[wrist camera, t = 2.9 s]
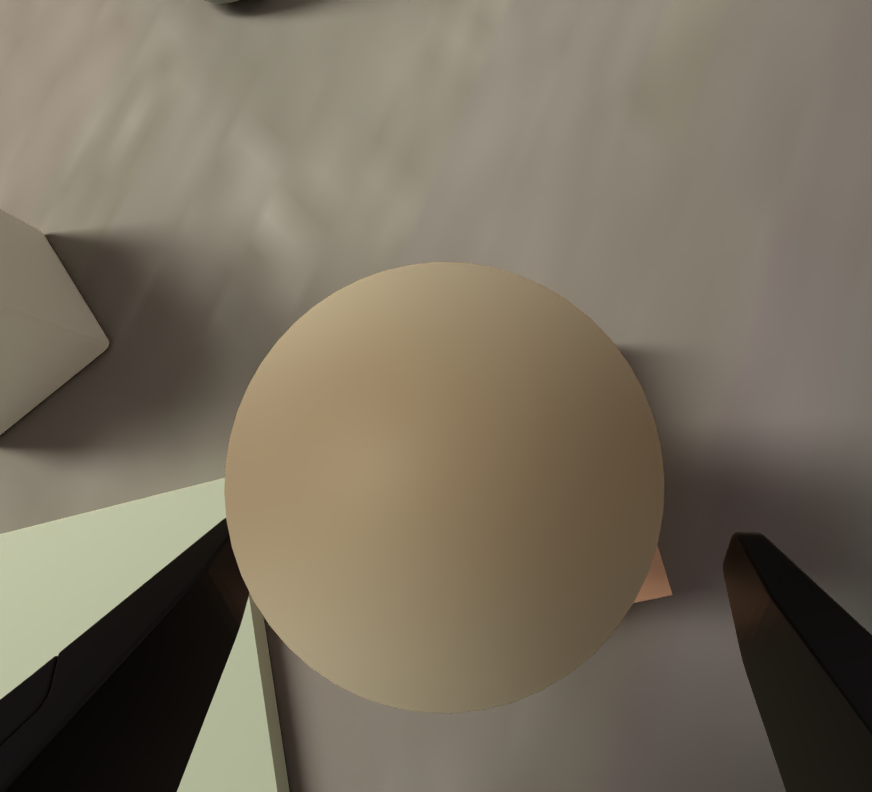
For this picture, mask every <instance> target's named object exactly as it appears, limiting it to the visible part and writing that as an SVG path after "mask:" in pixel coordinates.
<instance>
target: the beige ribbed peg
mask: <svg viewBox="0 0 872 792" xmlns="http://www.w3.org/2000/svg"><path fill="white" fill-rule="evenodd" d="M664 484H665V477H664V468H663V458H662V449H661V444H660V440H659V436H658V432H657V428H656V423H655V419H654V416H653V414H652V411H651V408H650V406H649V403H648V401H647V398H646V396H645V393H644V391H643V388H642V387H641V385H640V383H639V381H638V379H637V378H636V376H635V374H634V372H633V370H632V369H631V367H630V365H629V363H628V362H627V360H626V359H625V358H624V356H623V355H622V354H621V352H620V351H619V350H618V348H617V347H616V346H615V344H614V343H613V342H612V340H611V339H610V338H609V337H608V336H607V335H606V334H605V333H604V332H603V331H602V330H601V329H600V328H599V327H598V326H597V324H596V323H595V322H594V321H593V320H592V319H591V318H590V317H588V316H587V315H586V314H584V313H583V312H582V311H581V310H579V309H578V308H577V307H576V306H574V305H573V304H572V303H571V302H569V301H568V300H566V299H565V298H563V297H561V296H560V295H558V294H556V293H555V292H553V291H551V290H550V289H548V288H546V287H545V286H543V285H541V284H538V283H536V282H534V281H531V280H529V279H527V278H524V277H522V276H520V275H517V274H514V273H510V272H507V271H503V270H500V269H497V268H493V267H488V266H482V265H475V264H469V263H452V262H433V263H423V264H413V265H407V266H403V267H398V268H394V269H390V270H385V271H382V272H379V273H377V274H374V275H371V276H368V277H365V278H363V279H360V280H358V281H356V282H354V283H352V284H350V285H348V286H346V287H344V288H342V289H340V290H338V291H336V292H335V293H333V294H332V295H330V296H329V297H327V298H326V299H324V300H323V301H321V302H320V303H318V304H317V305H315V306H314V307H313V308H311V309H310V310H309V311H308V312H307V313H306V314H304V315H303V316H302V317H301V318H300V319H298V320H297V321H296V322H295V323H294V324H293V325H292V326H291V327H290V328H289V329H288V330H287V331H286V333H285V334H284V335H283V336H282V337H281V338H280V339H279V340H278V341H277V342H276V344H275V345H274V346H273V348H272V349H271V350H270V352H269V353H268V355H267V356H266V357H265V359H264V360H263V361H262V363H261V364H260V366H259V368H258V370H257V371H256V373H255V375H254V377H253V378H252V380H251V382H250V384H249V386H248V387H247V390H246V392H245V395H244V397H243V399H242V402H241V404H240V407H239V409H238V411H237V415H236V418H235V422H234V425H233V429H232V432H231V436H230V440H229V446H228V452H227V459H226V465H225V488H224V495H225V508H226V520H227V525H228V530H229V535H230V540H231V545H232V549H233V552H234V555H235V558H236V561H237V564H238V567H239V570H240V573H241V576H242V578H243V580H244V582H245V584H246V586H247V588H248V590H249V592H250V594H251V596H252V599H253V601H254V602H255V604H256V605H257V607H258V608H259V610H260V611H261V613H262V615H263V616H264V618H265V619H266V621H267V622H268V624H269V625H270V626H271V628H272V629H273V630H274V631H275V632H276V634H277V635H278V636H279V637H280V638H281V639H282V641H283V642H284V643H285V644H286V645H287V646H288V648H290V649H291V650H292V651H293V652H294V653H295V654H296V655H297V656H298V657H300V658H301V659H302V660H303V661H304V662H305V663H306V664H307V665H308V666H310V667H311V668H312V669H314V670H315V671H317V672H318V673H320V674H321V675H323V676H324V677H325V678H327V679H328V680H330V681H331V682H333V683H334V684H336V685H338V686H340V687H342V688H344V689H346V690H348V691H350V692H352V693H354V694H356V695H358V696H360V697H362V698H365V699H368V700H371V701H374V702H377V703H380V704H383V705H386V706H389V707H394V708H399V709H405V710H410V711H416V712H424V713H461V712H470V711H479V710H485V709H489V708H493V707H497V706H500V705H504V704H508V703H512V702H515V701H517V700H520V699H522V698H524V697H527V696H529V695H531V694H534V693H536V692H539V691H541V690H543V689H545V688H546V687H548V686H550V685H551V684H553V683H555V682H556V681H558V680H559V679H561V678H563V677H564V676H566V675H568V674H569V673H571V672H572V671H573V670H574V669H576V668H577V667H578V666H579V665H580V664H582V663H583V662H584V661H585V660H586V659H588V658H589V657H590V656H591V655H592V654H594V653H595V652H596V651H597V650H598V648H599V647H600V646H601V645H602V644H603V643H604V642H605V641H606V640H607V638H608V637H609V636H610V635H611V634H612V633H613V632H614V631H615V630H616V628H617V627H618V625H619V624H620V623H621V621H622V620H623V618H624V617H625V615H626V614H627V612H628V611H629V609H630V608H631V606H632V605H633V603H634V602H635V600H636V597H637V595H638V593H639V591H640V589H641V587H642V585H643V583H644V581H645V579H646V577H647V575H648V573H649V569H650V566H651V563H652V560H653V557H654V554H655V551H656V547H657V544H658V540H659V535H660V529H661V523H662V517H663V511H664Z"/></svg>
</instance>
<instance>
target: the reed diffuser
mask: <svg viewBox="0 0 872 792" xmlns="http://www.w3.org/2000/svg"><path fill="white" fill-rule="evenodd" d="M206 1H208V2H211V3H219V4H222V3H231V2H235V1H238V0H206Z"/></svg>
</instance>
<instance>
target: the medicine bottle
mask: <svg viewBox="0 0 872 792" xmlns="http://www.w3.org/2000/svg"><path fill="white" fill-rule="evenodd" d="M108 346H109V340H108V338H107V336H106V335H105V333H104V332H103V330H102V328H101V327H100V325H99V323H98V322H97V320H96V319H95V317H94V315H93V314H92V312H91V310H90V309H89V307H88V305H87V304H86V302H85V301H84V299H83V297H82V296H81V294H80V292H79V291H78V289H77V288H76V286H75V284H74V283H73V281H72V279H71V278H70V276H69V275H68V273H67V271H66V270H65V268H64V266H63V265H62V263H61V261H60V260H59V258H58V257H57V255H56V253H55V252H54V250H53V248H52V247H51V245H50V244H49V242H48V240H47V239H46V237H45V235H44V234H43V233H42V232H41V231H40V230H38V229H36V228H35V227H33V226H31V225H29V224H27V223H25V222H23V221H21V220H20V219H18V218H16V217H14V216H12V215H10V214H8V213H6V212H5V211H3V210H1V209H0V435H1V434H2V433H4V432H5V431H6V430H7V429H9V428H10V427H11V426H12V425H14V424H15V423H16V422H17V421H18V420H20V419H21V418H22V417H23V416H25V415H26V414H27V413H28V412H30V411H31V410H32V409H33V408H35V407H36V406H37V405H38V404H40V403H41V402H42V401H43V400H45V399H46V398H47V397H48V396H49V395H51V394H52V393H53V392H54V391H56V390H57V389H58V388H59V387H61V386H62V385H63V384H64V383H66V382H67V381H68V380H69V379H71V378H72V377H73V376H74V375H76V374H77V373H78V372H79V371H80V370H82V369H83V368H84V367H85V366H87V365H88V364H89V363H90V362H92V361H93V360H94V359H95V358H97V357H98V356H99V355H100V354H102V353H103V352H104V351H105V350H106V349H107V348H108Z"/></svg>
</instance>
